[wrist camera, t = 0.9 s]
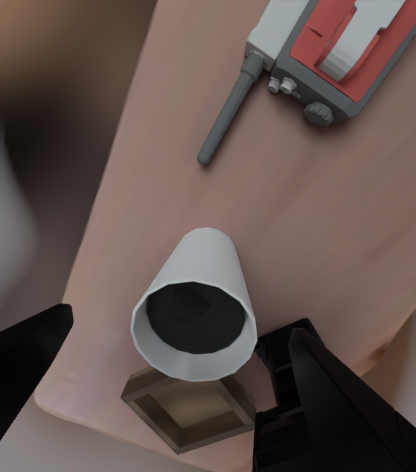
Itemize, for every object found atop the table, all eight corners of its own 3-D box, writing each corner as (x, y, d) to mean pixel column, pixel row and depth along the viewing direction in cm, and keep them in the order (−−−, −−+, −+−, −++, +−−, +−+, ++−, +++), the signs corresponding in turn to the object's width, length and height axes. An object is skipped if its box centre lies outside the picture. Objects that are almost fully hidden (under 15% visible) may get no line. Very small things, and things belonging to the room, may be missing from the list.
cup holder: (254, 403, 27) (257, 428, 24) (181, 430, 29) (177, 454, 27) (206, 340, 24) (204, 361, 22) (129, 375, 27) (120, 397, 24)
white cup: (161, 270, 22) (114, 355, 12) (187, 210, 20) (155, 256, 10) (222, 296, 22) (222, 397, 13) (254, 241, 20) (282, 312, 11)
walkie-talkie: (362, -171, 12) (190, 157, 18) (434, -343, 8) (181, 155, 14) (477, -70, 13) (277, 210, 19) (594, -177, 9) (292, 223, 15)
